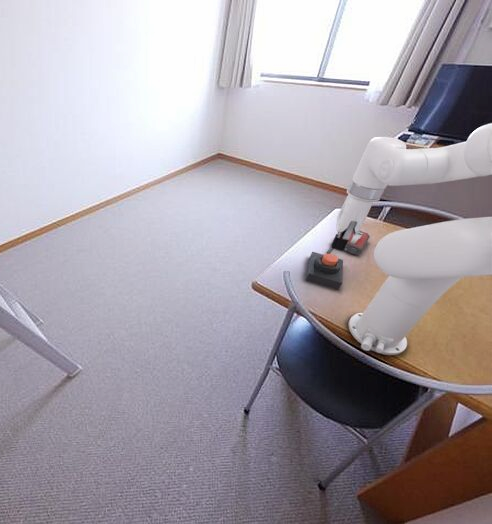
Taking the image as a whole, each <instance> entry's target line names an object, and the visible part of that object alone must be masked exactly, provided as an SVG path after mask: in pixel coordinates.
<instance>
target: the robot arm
mask: <svg viewBox="0 0 492 524" xmlns="http://www.w3.org/2000/svg"><path fill="white" fill-rule="evenodd" d="M488 176H492V122H490V123H486V124H484V125H481V126H480V127H478V128H476V129H475V130H474V131H473V132H472V133H470V134H469V136H468V137H467V140H466V141H461V142H458V143H454V144H450V145H446V146H440V147H425V148H407V144H406V143H405V141H403V140H401V139H399V138H395V137H390V136H377V137H374V138H372V139H370V141H369V142H368V143H367V145H366V147H365V149H364V152H363V154H362V156H361V159H360V161H359V163H358V165H357V167H356V169H355V171H354V174H353V176H352V178H351V180H350V183H349V185H348V188H347V190H346V194H347V196H346V198H345V200H344V202H343V203H342V206H341V208H340V210H339V212H338V214H337V216H336V223H335V224H336V225H335V230H336V232H337V233H336V234H335V235H334V238H333V240H332V242H331V247H330V248H333V250H337V251H341V252H343V251H344V249H345V247H346V245H347V243H348V241H349V238H350V237H351V235H352V233H353V235H354V236H355V235H357V234H358V232H359V231H361V229H362V227H363V225H364V223H365V221H366V219H367V217H368V215H369V212H370V211H371V209H372V207H373V204H374V202H379V201H380V200H381V198H382V196H383V194H384V192H385V191H386V188H387V187H389V186H390V187H400V186H401V187H402V186H415V185H434V184H439V183H440V184H441V183H446V182H454V181H461V180H467V179H472V178H473V179H474V178H479V177H488ZM373 259H374V263H375V265H376V266H377V268H378V269H379V270H380V271H381V272H383V273H384V274H385V275H387V276H388V277H387V278H386V280H385V281H384V282H383V283H382V285H381V287H380V288H379V289H378V291H377V292H376V293H375V295H374V296H373V298H372V299H371V301H370V302H369V304H368V306H367V307H366V308H365V310H364V311H363V312H359V313H355V314H353V315H352V316H351V317H350V319H349V321H348V330H349V332H350V334H351V335H352V337H353V338H354V339H355V340H356V341H357V342H358V343H359V344H360V348H361V349H362V350H363V351H366V352H369V351H372V352H374V353H377V354H380V355H385V356H396V355H400V354H401V353H403V352H404V351H405V350H406V349H407V348H408V339H407V335H408V334H409V333H410V332H411V331H412V330H413V329H414V328H415V326H416V325H418V323H420V322H421V320H422V318H423V317H425V315H426V314H427V313H428V312H429V310H430V309H432V308H433V306H434V305H435V304H436V303H437V302H438V301H439V300H440V298H442V296H444V294H445V293H446V292H447V291H448V290H450V288H452V286H454V285H455V284H457V283H458V282H459V281H460V280H461V279H463V278H474V277H484V276H492V216H483V217H482V216H481V217H469V218H459V219H453V220H447V221H442V222H435V223H431V224H426V225H425V224H424V225H420V226H416V227H415V226H414V227H410V228H405V229H400V230H395V231H392V232H389V233H387V234H386V235H384V236H383V237H382V238H381V239H380V240H379V241H378V242H377V244H376V245H375V247H374V251H373Z"/></svg>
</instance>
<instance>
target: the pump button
mask: <svg viewBox="0 0 492 524" xmlns="http://www.w3.org/2000/svg"><path fill="white" fill-rule="evenodd" d="M323 254H324V256H323V258H322V260H321V261H322V263H324V264H325V265H328V266H335V265H336V263H337V261H338V259H339V257H338V256H336V255H335V254H332V253H330V254H327V253H323Z"/></svg>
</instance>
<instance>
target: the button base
mask: <svg viewBox="0 0 492 524" xmlns="http://www.w3.org/2000/svg"><path fill="white" fill-rule="evenodd" d="M324 254H325V253H323V254H322V253H319V252H316V251H312V252H311V254H310V256H309V259H308V263H307V269H306V275H305V282H309V283H312V284H316V285H319V286H322V287H326V288H328V289H332V290H335V291H339V290H340V288H341V287H342V285H343V274H344V273H343V272H344V259H342V258H338V261H337V263H336V265H335V266H328V265H325V264H324V263H322V261H321V260H322V258H323V256H324Z"/></svg>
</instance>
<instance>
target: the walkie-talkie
mask: <svg viewBox="0 0 492 524" xmlns="http://www.w3.org/2000/svg"><path fill="white" fill-rule="evenodd" d="M370 238H371V236H370V234H369V233H368V232H365V231H362V230H359V232H358V234H357V235H355V236H354V235H353V233H352V235H351V237H350V238H349V241H348V243H347V245H346V247H345V249H344V250H343V251H344V252H347V253H350V254H352V255H354V256H359V255H360V254H361V253H362V251H363V250H364V248H365V245H366V244H367V243H368V241H369V240H370ZM333 251H334V249H333V248H331V247H330V248H329V249H328V250H327V251H326V254H332V252H333Z"/></svg>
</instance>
